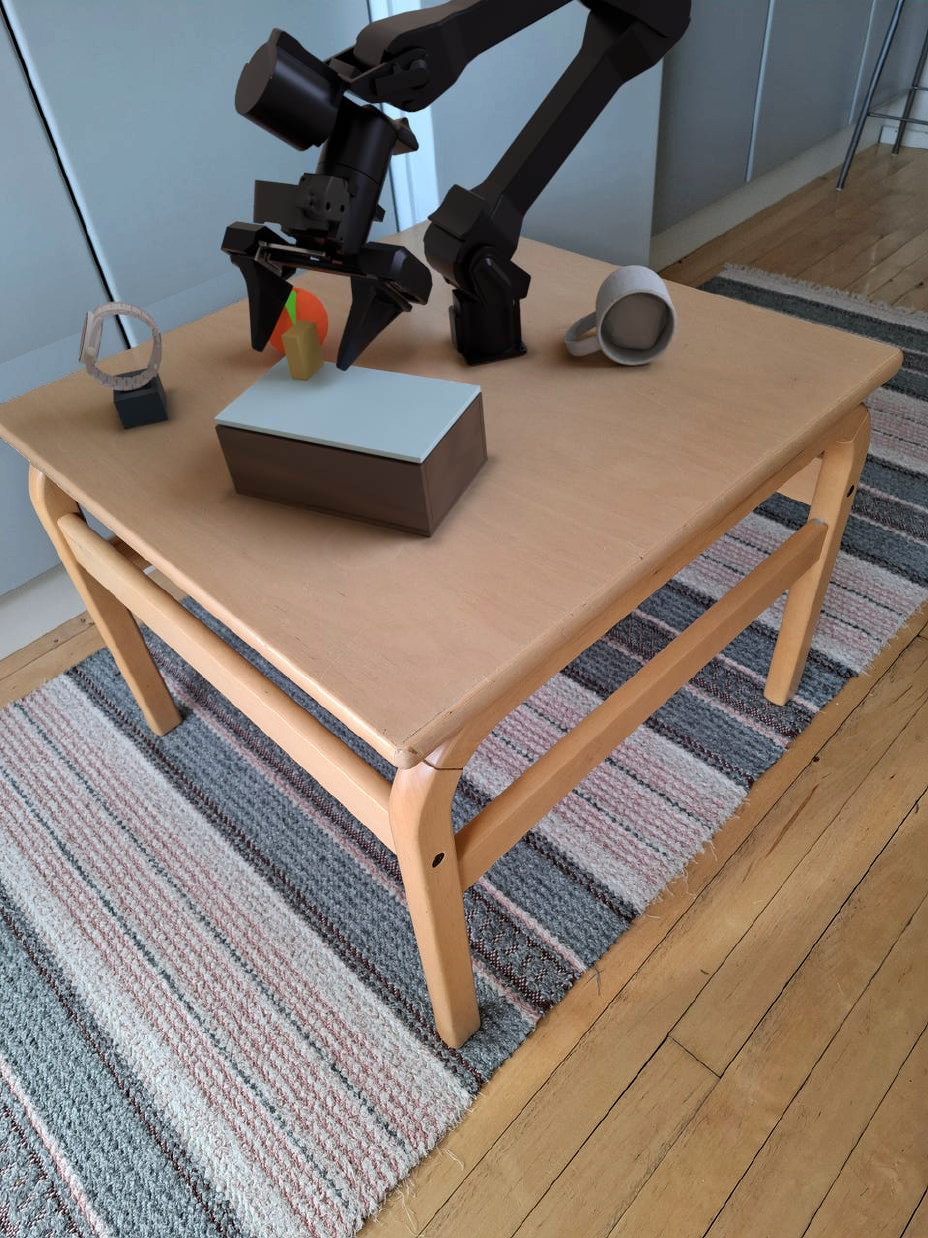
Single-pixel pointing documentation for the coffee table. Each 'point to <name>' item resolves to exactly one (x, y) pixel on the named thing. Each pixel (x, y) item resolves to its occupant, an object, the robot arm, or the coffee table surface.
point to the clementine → (300, 316)
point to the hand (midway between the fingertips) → (297, 359)
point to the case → (360, 474)
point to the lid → (348, 403)
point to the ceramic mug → (627, 318)
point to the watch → (132, 391)
